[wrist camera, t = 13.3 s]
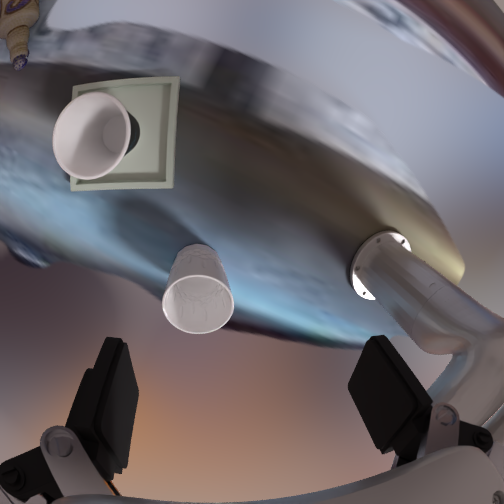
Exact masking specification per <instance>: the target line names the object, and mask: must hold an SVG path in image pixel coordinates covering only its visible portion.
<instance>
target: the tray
mask: <svg viewBox="0 0 504 504" xmlns="http://www.w3.org/2000/svg"><path fill="white" fill-rule="evenodd" d="M179 90H180V77H179V76H172V77H145V78H130V79H119V80H110V81H102V82H95V83H88V84H82V85H76V86H73V92H72V100H74V99H75V98H77V97H79V96H81V95H83V94H86V93H90V92H103V93H107V94H110V95H112V96H113V97H115V98H116V99H118V100H119V101H120V102H121V103H122V105H123V106H124V107H125V109H126V111H128V112H129V113H130V114H131V115H132V116H134V117H135V118H136V120H137V121H138V123H139V126H140V137H139V140H138V143H137V145H136V146H135V147H134V148H133V150H131V151H130V152H129V153H128V154H127V155H125V156H124V157H123V158H122V160H121V161H120V162H119V164H118V165H117V166H116V167H115V168H114V169H113V170H112V171H110V172H109V173H107V174H106V175H104V176H102V177H99V178H96V179H89V180H84V179H79V178H76V177H73V176H71V175H70V184H71V191H87V190H110V189H157V188H173V186H174V169H175V145H176V127H177V113H178V101H179Z"/></svg>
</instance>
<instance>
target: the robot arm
mask: <svg viewBox="0 0 504 504" xmlns="http://www.w3.org/2000/svg"><path fill="white" fill-rule="evenodd" d="M350 281H351V284H352V287H353V288H354V290H355V291H356V292H357V293H358V294H359V295H360V296H361V297H363V298H366V299H376V300H377V301H378V302H379V304H380V305H381V306H382V307H383V308H384V309H385V310H386V311H387V312H388V313H389V314H390V316H391V317H392V318H393V319H394V320H395V321H396V322H397V323H398V324H399V326H400V327H401V328H402V329H403V330H404V331H405V332H406V333H407V335H408V336H409V337H410V338H411V339H412V340H413V341H414V342H415V343H416V345H417V346H418V347H419V348H420V349H422V350H423V351H424V352H427V353H429V354H434V355H447V354H452V355H453V356H452V359H451V361H450V362H449V364H448V365H447V367H446V368H445V370H444V371H443V372H442V374H441V375H440V376H439V377H438V378H437V379H436V381H435V382H434V383H433V384H432V385H431V386H430V388H429V389H428V390H427V391H426V390H425V389H424V387H423V386H422V385H421V383H420V382H419V380H418V379H417V378H416V376H415V375H414V373H413V372H412V371H411V369H410V368H409V367H408V365H407V364H406V362H405V361H404V360H403V358H402V357H401V356H400V354H399V353H398V352H397V351H396V349H395V348H394V346H393V345H392V344H391V342H390V341H389V340H388V338H387V337H386V336H385V335H379V336H372V337H370V339H369V340H368V341H367V342H366V344H365V346H364V349H363V351H362V354H361V356H360V358H359V360H358V363H357V365H356V367H355V370H354V372H353V374H352V376H351V378H350V381H349V383H348V390H349V392H350V394H351V396H352V399H353V401H354V403H355V405H356V407H357V409H358V411H359V413H360V415H361V417H362V419H363V421H364V423H365V425H366V427H367V429H368V432H369V434H370V436H371V438H372V440H373V442H374V444H375V446H376V448H377V449H380V451H381V453H382V454H385V453H388V452H391V451H393V450H394V451H395V453H396V455H395V458H394V461H393V464H392V467H391V470H389V471H387V472H384V473H381V474H378V475H375V476H372V477H369V478H366V479H363V480H360V481H357V482H353V483H350V484H346V485H342V486H338V487H335V488H331V489H327V490H322V491H318V492H313V493H308V494H302V495H297V496H291V497H284V498H277V499H269V500H260V501H248V502H232V503H231V502H230V503H191V502H172V501H160V500H150V499H142V498H133V497H124V496H122V495H121V494H120V492H119V491H118V489H117V488H116V487H115V485H114V484H113V483H112V481H111V480H113V477H114V473H118V474H122V468H127V465H128V457H129V451H130V444H131V437H132V431H133V425H134V419H135V413H136V407H137V402H138V396H139V390H138V386H137V382H136V378H135V374H134V371H133V367H132V362H131V358H130V354H129V350H128V345H127V343H124V342H123V341H122V339H121V338H113V337H106V339H105V341H104V343H103V345H102V348H101V350H100V353H99V355H98V358H97V360H96V363H95V365H94V368H93V369H90V368H88V369H87V370H86V372H85V374H84V376H83V378H82V381H81V383H80V386H79V389H78V391H77V394H76V397H75V399H74V402H73V405H72V408H71V410H70V413H69V417H68V419H67V422H66V425H65V427H64V426H53V427H50V428H48V429H47V430H46V431H45V432H44V433H43V434H42V436H41V439H40V446H39V447H36V448H34V449H32V450H30V451H28V452H25V453H23V454H21V455H18V456H16V457H14V458H11V459H9V460H6V461H5V462H3V463H2V464H1V465H0V504H504V404H503V403H504V318H502V317H501V316H499V315H497V314H496V313H494V312H492V311H491V310H489V309H488V308H486V307H484V306H483V305H482V304H480V303H479V302H478V301H476V300H475V299H473V298H472V297H471V296H469V295H468V294H467V293H465V292H464V291H463V290H462V289H460V288H459V287H458V286H456V285H455V284H454V283H453V282H451V281H450V280H449V279H447V278H446V277H445V276H443V275H442V274H441V273H439V272H438V271H437V270H435V269H434V268H433V267H431V266H430V265H428V264H427V263H426V262H425V261H423V260H421V259H420V258H419V257H417V256H416V255H414V254H413V253H411V247H410V244H409V242H408V241H407V239H406V238H405V237H404V236H403V235H401V234H400V233H398V232H395V231H389V230H387V231H381V232H379V233H376V234H375V235H373V236H371V237H370V238H369V239H368V240H366V241H365V242H364V243H363V244H362V246H361V247H360V248H359V250H358V251H357V253H356V254H355V256H354V259H353V261H352V264H351V268H350ZM502 404H503V405H502ZM500 407H501V408H500ZM499 408H500V409H499ZM498 409H499V410H498ZM497 410H498V411H497ZM496 411H497V412H496ZM495 412H496V413H495ZM494 413H495V414H494ZM493 414H494V415H493ZM492 415H493V416H492ZM491 416H492V417H491ZM490 417H491V418H490ZM489 418H490V419H489ZM488 419H489V420H488ZM487 420H488V421H487ZM486 421H487V422H486ZM485 422H486V423H485ZM484 423H485V424H484ZM483 424H484V425H483Z"/></svg>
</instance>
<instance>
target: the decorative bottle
mask: <svg viewBox="0 0 504 504" xmlns="http://www.w3.org/2000/svg"><path fill="white" fill-rule="evenodd" d="M38 17H39V0H0V38H2V39H6V41H7V47H8V49H9V51H10V59H11V62H12V63H13V66H14V68H15V70H17V71H20V70H21V69H23V68H24V67H25V65H26V63H27V59H26V56H27V57H28V55H29V50H28V45H27V43H28V40H29V28H30V27H32V26H33V25H34V24H35V23H36V22H37V19H38Z"/></svg>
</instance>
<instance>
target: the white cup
mask: <svg viewBox="0 0 504 504" xmlns="http://www.w3.org/2000/svg"><path fill="white" fill-rule="evenodd" d="M162 307H163V312H164V314H165V316H166V318H167V319H168V321H169V322H170V323H171V324H172V325H174V326H175V327H176V328H178V329H180V330H182V331H184V332H188V333H193V334H204V333H209V332H212V331H215V330H217V329H219V328H221V327H222V326H223V325H224V324H226V322H227V321H228V320H229V319H230V317H231V315H232V313H233V309H234V300H233V296H232V293H231V289H230V286H229V282H228V279H227V276H226V273H225V270H224V267H223V265H222V262H221V259H220V258H219V256H218V254H217V252H216V251H215V250H213V249H212V248H210V247H209V246H207V245H201V244H193V245H189V246H186V247H184V248H183V249H182V250H181V251H179V252H178V253H177V256H176V258H175V260H174V263H173V265H172V268H171V270H170V273H169V277H168V280H167V284H166V288H165V292H164V296H163V300H162Z"/></svg>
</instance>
